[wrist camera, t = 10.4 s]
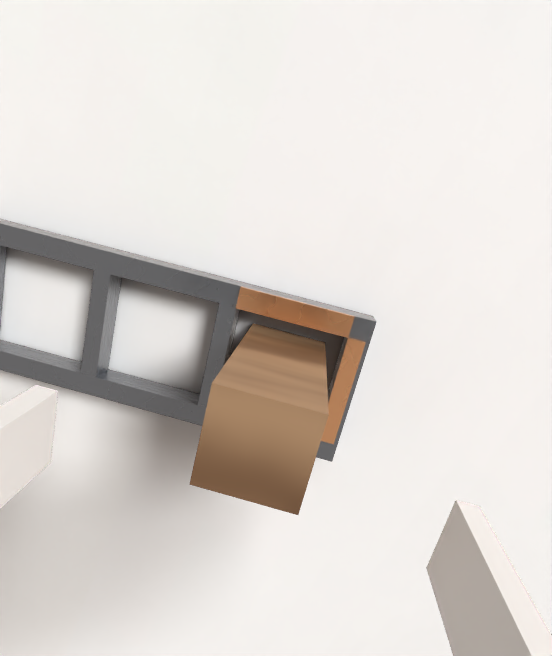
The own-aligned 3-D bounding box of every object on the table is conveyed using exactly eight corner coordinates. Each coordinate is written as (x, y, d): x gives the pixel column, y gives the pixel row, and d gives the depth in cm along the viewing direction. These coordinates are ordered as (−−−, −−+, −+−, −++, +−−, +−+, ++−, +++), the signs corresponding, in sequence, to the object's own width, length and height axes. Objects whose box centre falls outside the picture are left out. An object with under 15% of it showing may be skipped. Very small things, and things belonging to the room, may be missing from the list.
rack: (-12, 215, 25) (-35, 214, 24) (372, 316, 24) (376, 322, 23) (-20, 352, 27) (-41, 360, 26) (331, 448, 27) (332, 463, 25)
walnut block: (253, 323, 25) (211, 383, 15) (325, 342, 25) (328, 414, 15) (237, 389, 26) (189, 484, 17) (305, 408, 26) (298, 515, 16)
